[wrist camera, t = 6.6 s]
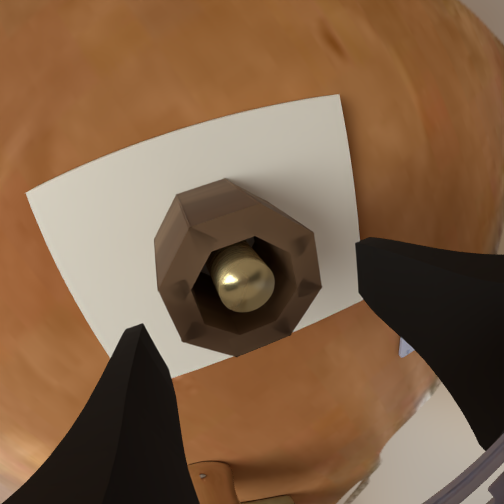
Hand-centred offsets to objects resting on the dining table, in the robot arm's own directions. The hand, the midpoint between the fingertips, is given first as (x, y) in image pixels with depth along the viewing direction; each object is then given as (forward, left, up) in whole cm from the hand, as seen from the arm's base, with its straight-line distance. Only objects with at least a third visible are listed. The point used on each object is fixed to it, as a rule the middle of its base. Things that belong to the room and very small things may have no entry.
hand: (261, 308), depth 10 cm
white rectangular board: (0, +1, -8) cm, 8 cm away
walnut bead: (0, 0, -6) cm, 6 cm away
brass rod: (0, 0, -8) cm, 8 cm away
